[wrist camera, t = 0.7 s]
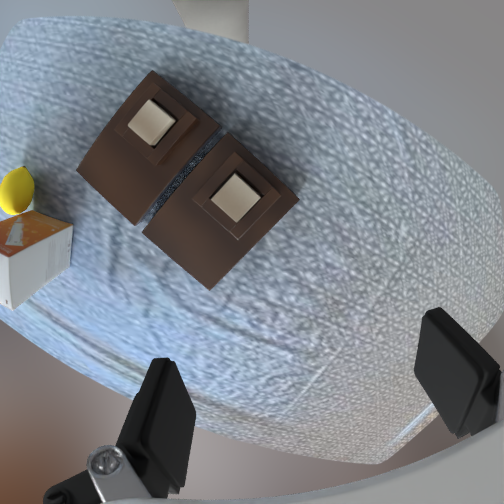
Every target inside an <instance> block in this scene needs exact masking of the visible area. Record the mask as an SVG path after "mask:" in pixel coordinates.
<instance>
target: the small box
mask: <svg viewBox="0 0 504 504" xmlns="http://www.w3.org/2000/svg"><path fill="white" fill-rule="evenodd" d="M72 233H73V224H70V223H66V222H63V221H60V220H57V219H54V218H51V217H49V216H46V215H43V214H41V213H38V212H35V211H33V210H31V211H28V212H25V213H22V214H20V215H17V216H14V217H11V218H9V219H6V220H3V221H1V222H0V304H1V305H3V306H5V307H7V308H8V309H10V310H12V311H14V310H15V309H16V308H17V307H18V306H20V305H21V304H22V303H23V302H25V301H26V300H27V299H28V298H30V297H31V296H32V295H33V294H35V293H36V292H37V291H38V290H40V289H41V288H42V287H44V286H45V285H46V284H48V283H49V282H50V281H52V280H53V279H54V278H56V277H57V276H58V275H60V274H61V273H62V272H64V271H65V270H66V269H68V268H69V267H70V256H71V244H72Z"/></svg>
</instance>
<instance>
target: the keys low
mask: <svg viewBox="0 0 504 504" xmlns="http://www.w3.org/2000/svg"><path fill="white" fill-rule="evenodd" d="M148 100H151V101H153V102H155V103H156V104H157V105H158V106H160V107H161V108H162V109H163V110H164V111H166V112H167V113H168V114H169V115H170V116H171V117H173V118H174V119H175V120H176V122H175V123H174V124H173V125H172V126H171V127H170V128H169V130H168V131H167V132H166V133H165V134H164V135H163V137H162V138H161V139H160V140H159V141H158V143H157V144H156V145H149V144H148V143H147V142H146V141H145V140H143V139H142V138H141V137H140V136H139V135H138V134H137V133H135V132H134V131H133V130H132V129H131V128H130V127H129V126H128V124H129V123H130V121H131V120H132V119H133V118H134V116H135V115H136V114H137V113H138V111H139V110H140V109H141V108H142V107H143V105H144V104H145V103H146V102H147V101H148ZM221 128H222V127H221V126H220V125H219V124H218V123H217V122H216V121H214V120H213V119H212V118H211V117H210V116H209V115H207V114H206V113H205V112H204V111H203V110H201V109H200V108H199V107H198V106H197V105H195V104H194V103H193V102H192V101H191V100H189V99H188V98H187V97H186V96H185V95H183V94H182V93H181V92H180V91H178V90H177V89H176V88H175V87H173V86H172V85H171V84H170V83H168V82H167V81H166V80H165V79H163V78H162V77H161V76H159V75H158V74H157V73H156V72H154V71H153V70H152V71H151V72H150V73H149V74H148V75H147V76H146V77H145V78H144V80H143V81H142V82H141V83H140V84H139V85H138V86H137V88H136V89H135V90H134V91H133V92H132V93H131V95H130V96H129V97H128V98H127V99H126V101H125V102H124V103H123V104H122V106H121V107H120V108H119V109H118V111H117V112H116V113H115V115H114V116H113V117H112V118H111V120H110V121H109V122H108V124H107V125H106V126H105V128H104V129H103V131H102V132H101V133H100V135H99V136H98V138H97V139H96V140H95V142H94V143H93V145H92V146H91V148H90V149H89V151H88V152H87V154H86V155H85V157H84V158H83V160H82V161H81V163H80V164H79V166H78V168H77V169H76V171H77V172H78V173H79V174H80V175H81V176H82V177H83V178H84V179H85V180H86V181H87V182H88V183H89V184H90V185H91V186H92V187H93V188H95V189H96V190H97V191H98V192H99V193H100V194H101V195H102V196H103V197H104V198H105V199H106V200H107V201H108V202H109V203H110V204H111V205H112V206H114V207H115V208H116V209H117V210H118V211H119V212H120V213H121V214H122V215H123V216H124V217H125V218H127V219H128V220H129V221H130V222H131V223H132V224H133V225H134V226H136V225H137V224H139V223H140V222H142V221H143V219H144V218H145V217H146V215H147V214H148V213H149V212H150V210H151V209H152V208H153V206H154V205H155V204H156V203H157V201H158V200H159V199H160V198H161V197H162V195H163V194H164V193H165V192H166V190H167V189H168V188H169V187H170V186H171V184H172V183H173V182H174V181H175V180H176V178H177V177H178V176H179V175H180V174H181V173H182V171H183V170H184V169H185V168H186V167H187V166H188V165H189V163H190V162H191V161H192V160H193V159H194V158H195V157H196V155H197V154H198V153H199V152H200V151H201V150H202V149H203V148H204V147H205V146H206V144H207V143H208V142H209V141H210V140H211V139H212V138H213V137H214V136H215V135H216V134H217V133H218V132H219V130H220V129H221Z"/></svg>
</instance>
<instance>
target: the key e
mask: <svg viewBox="0 0 504 504" xmlns="http://www.w3.org/2000/svg"><path fill="white" fill-rule="evenodd" d="M260 198H261V197H260V195H259V194H258V193H257V192H256V191H255V190H254V189H253V188H252V187H251V186H250V185H249V184H247V183H246V182H245V181H244V180H243V179H242V178H241V177H240V176H239V175H238V174H236V173H235V174H234V175H233V176H232V177H231V178H230V179H229V180H228V181H227V182H226V184H225V185H224V186H223V187H222V188H221V189H220V190H219V191H218V192H217V193H216V194H215V196H214V197H213V198H212V199H211V200H212V201H213V202H214V203H215V204H217V205H218V206H219V207H220V208H221V209H222V210H223V211H224V212H225V213H227V214H228V215H229V216H230V217H231V218H232V219H233V220H234V221H235V222H238V221H239V220H240V219H241V218H242V217H243V216H244V215H245V214H246V213H247V211H248V210H249V209H250V208H251V207H252V206H253V205H254V204H255V203H256V202H257V201H258V200H259V199H260Z"/></svg>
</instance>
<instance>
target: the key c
mask: <svg viewBox="0 0 504 504" xmlns="http://www.w3.org/2000/svg"><path fill="white" fill-rule="evenodd" d="M175 122H176V120H175V119H174V118H173V117H171V116H170V115H169V114H168V113H167V112H166V111H164V110H163V109H162V108H161V107H160V106H158V105H157V104H156V103H155V102H153V101H151V100H148V101H147V102H146V103H145V104H144V105H143V107H142V108H141V109H140V110H139V111H138V113H137V114H136V115H135V116H134V118H133V119H132V120H131V121H130V123H129V124H128V126H129V127H130V128H131V129H132V130H133V131H134V132H135V133H137V134H138V135H139V136H140V137H141V138H142V139H143V140H145V141H146V142H147V143H148V144H149V145H156V144H157V143H158V141H159V140H160V139H161V138H162V137H163V135H164V134H165V133H166V132H167V131H168V130H169V128H170V127H171V126H172V125H173V124H174V123H175Z"/></svg>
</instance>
